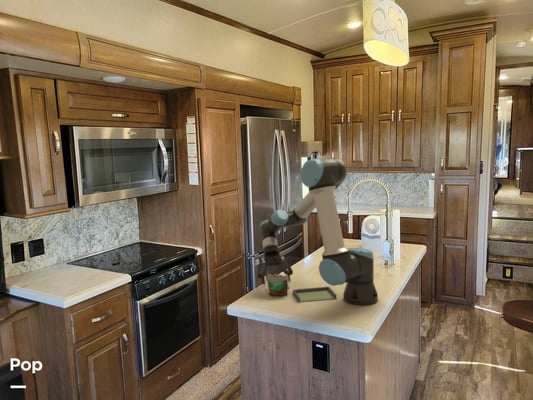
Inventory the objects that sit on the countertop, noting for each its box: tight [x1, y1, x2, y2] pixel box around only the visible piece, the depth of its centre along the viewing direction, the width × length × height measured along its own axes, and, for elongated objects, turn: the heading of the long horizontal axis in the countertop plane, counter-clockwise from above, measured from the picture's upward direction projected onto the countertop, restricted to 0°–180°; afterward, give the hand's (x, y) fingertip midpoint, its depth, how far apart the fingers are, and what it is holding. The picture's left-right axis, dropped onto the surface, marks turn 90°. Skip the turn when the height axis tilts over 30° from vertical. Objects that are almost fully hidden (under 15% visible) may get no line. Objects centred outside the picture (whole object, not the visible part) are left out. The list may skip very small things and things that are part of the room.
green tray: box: [292, 286, 338, 303], centre depth 190 cm, size 12×18×2 cm, turn 98°
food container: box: [265, 270, 289, 298], centre depth 193 cm, size 12×6×10 cm, turn 51°
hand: (277, 289), depth 191 cm, fingers open, 10 cm apart
